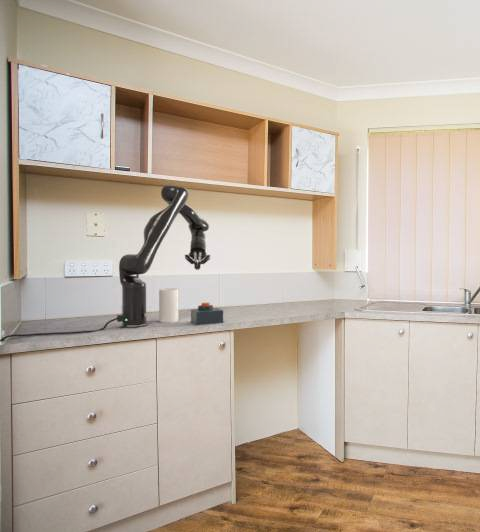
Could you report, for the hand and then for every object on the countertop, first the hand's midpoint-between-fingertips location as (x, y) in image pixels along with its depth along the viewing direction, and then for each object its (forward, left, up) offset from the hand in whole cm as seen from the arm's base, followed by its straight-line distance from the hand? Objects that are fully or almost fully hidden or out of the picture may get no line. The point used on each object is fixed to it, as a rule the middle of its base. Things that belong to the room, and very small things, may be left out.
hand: (197, 268), depth 209 cm
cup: (-14, -6, -26) cm, 30 cm away
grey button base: (0, -20, -26) cm, 33 cm away
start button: (0, -18, -18) cm, 25 cm away
